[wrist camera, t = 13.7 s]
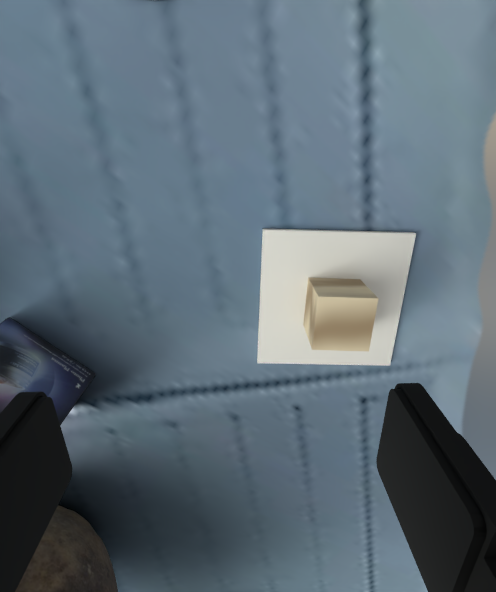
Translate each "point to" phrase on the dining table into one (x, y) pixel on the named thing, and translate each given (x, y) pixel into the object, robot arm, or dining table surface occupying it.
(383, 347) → the off-white board
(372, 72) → the dining table surface
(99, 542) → the clay pot
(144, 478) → the dining table surface
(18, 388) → the small box
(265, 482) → the dining table surface
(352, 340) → the maple cube
